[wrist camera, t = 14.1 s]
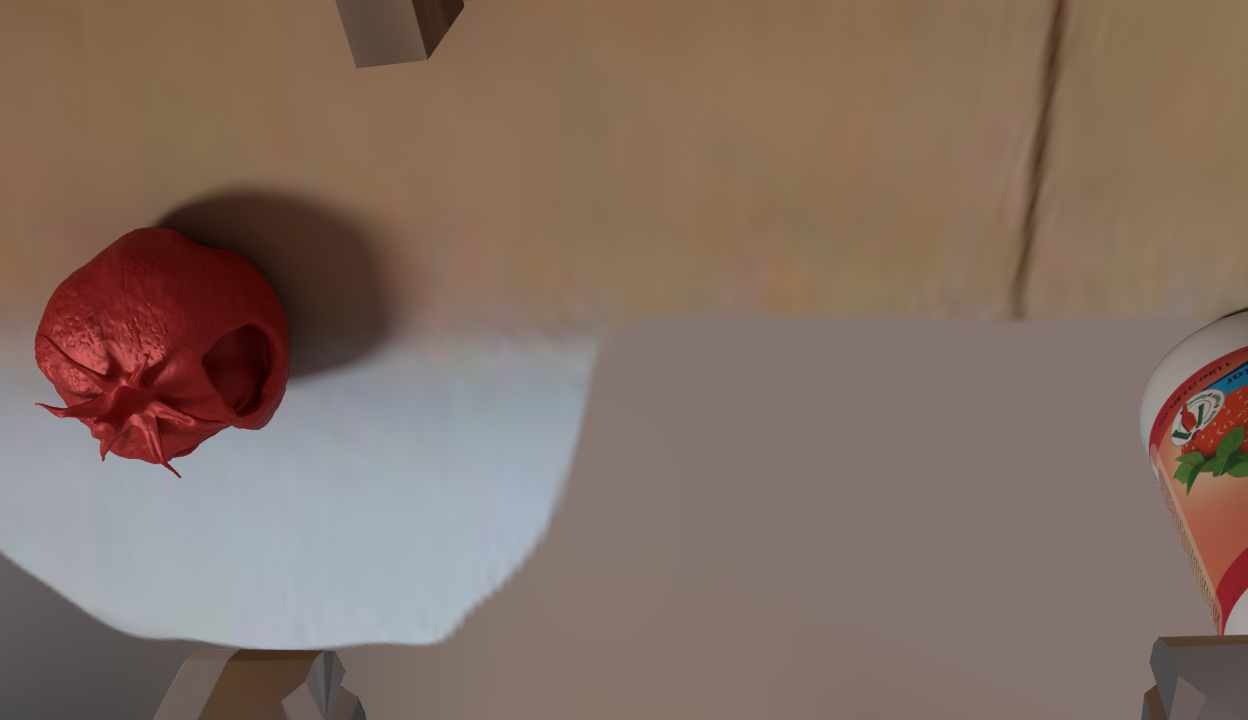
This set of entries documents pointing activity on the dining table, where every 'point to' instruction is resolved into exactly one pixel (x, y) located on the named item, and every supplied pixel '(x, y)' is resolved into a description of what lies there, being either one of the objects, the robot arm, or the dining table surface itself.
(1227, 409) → the fruit juice
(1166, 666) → the robot arm
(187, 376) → the pomegranate
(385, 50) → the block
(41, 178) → the dining table surface
